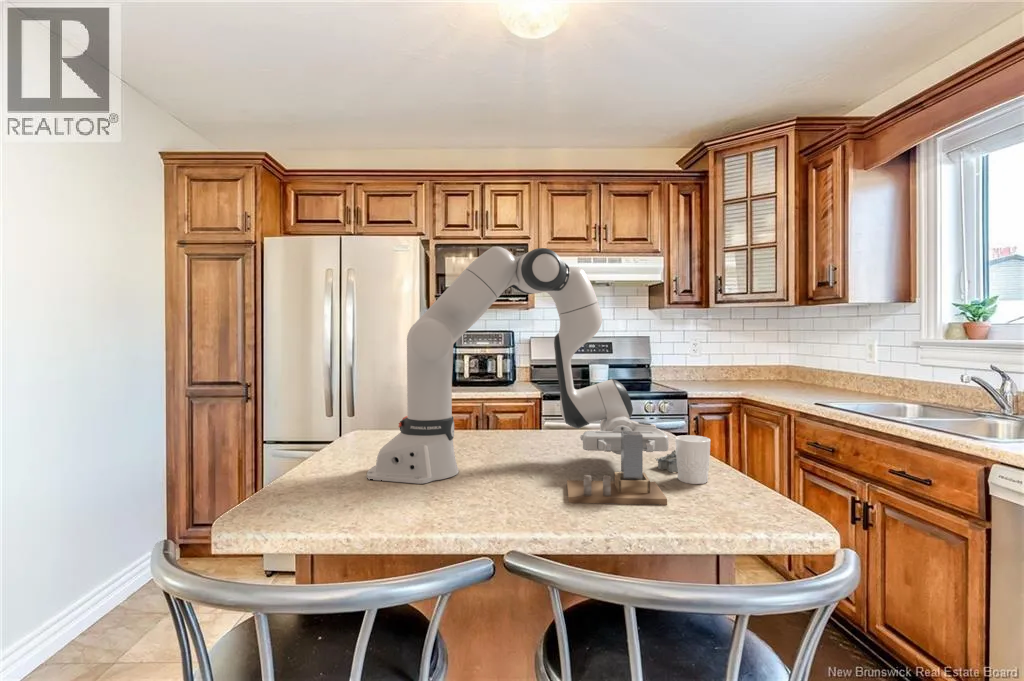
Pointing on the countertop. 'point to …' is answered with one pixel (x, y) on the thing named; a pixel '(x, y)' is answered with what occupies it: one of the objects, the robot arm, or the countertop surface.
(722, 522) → the countertop surface
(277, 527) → the countertop surface
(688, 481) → the white cup
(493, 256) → the robot arm
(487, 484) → the countertop surface
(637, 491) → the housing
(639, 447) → the grey tall block
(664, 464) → the egg carton
